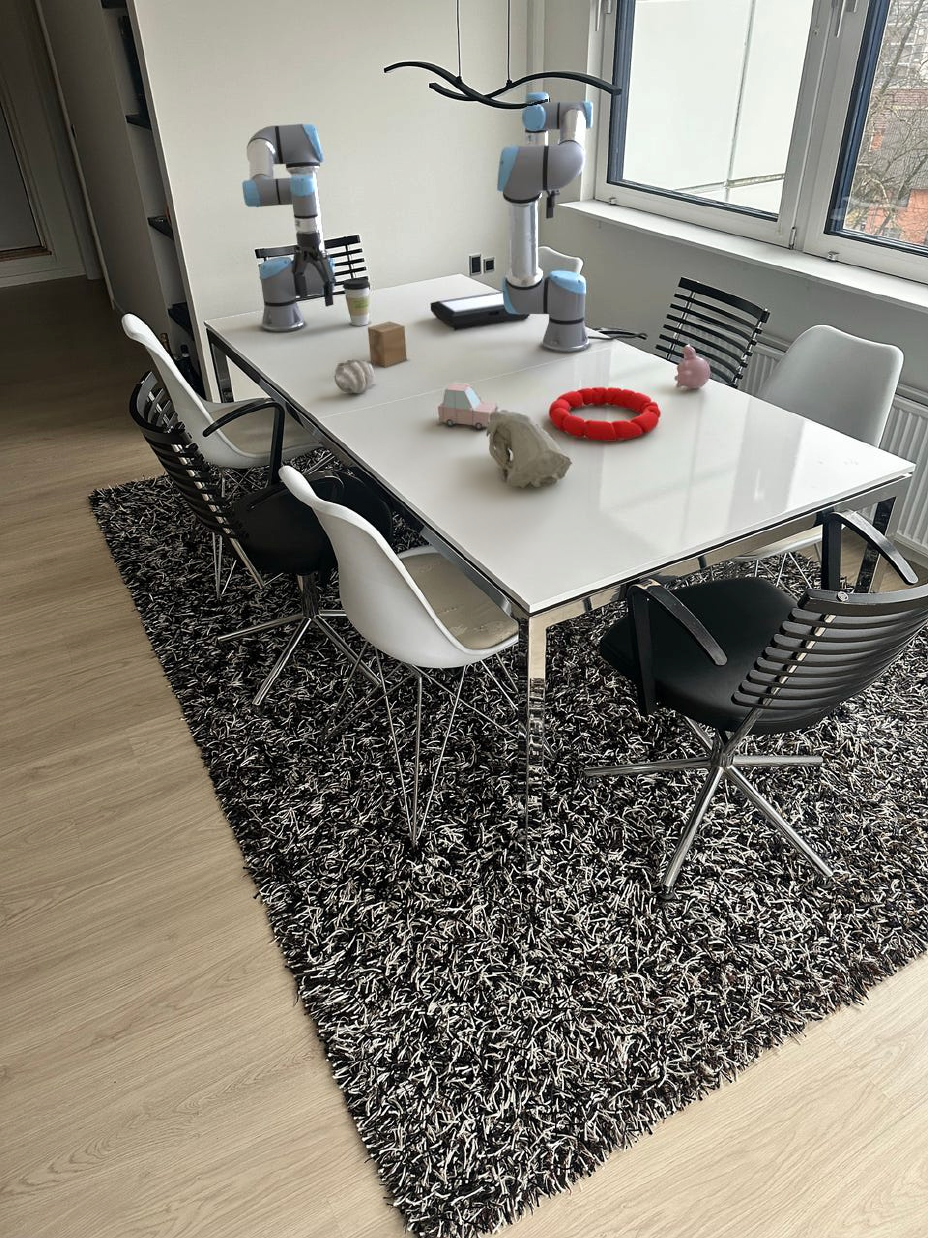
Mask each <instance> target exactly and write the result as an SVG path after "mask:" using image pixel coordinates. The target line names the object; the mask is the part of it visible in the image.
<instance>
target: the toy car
mask: <svg viewBox="0 0 928 1238" xmlns="http://www.w3.org/2000/svg"><path fill="white" fill-rule="evenodd" d="M498 409H499V404H498V403H497V402H490V401H489V402H487V401H483V397H481V396H480V395H479V394H478V393H477V391H476V390H475V389H474V386H472V384H469V383H459V382H451V383H450V384H449V385H448V386H447V387H446V388H445V389H444V394H443V399H442V403H440V404H439V405H438V406H437V413H438V421H439V422H443V423H446V425H447V426H448V427H452V426H454V425H455V424H461V425H469V426H473V427H475V429H476V430H479V431H480V430H481V429H483V428H485V427H486V428H487V423H488V422H490V414H491V413H492V412H496V411H499V410H498Z"/></svg>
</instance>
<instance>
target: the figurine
mask: <svg viewBox="0 0 928 1238" xmlns="http://www.w3.org/2000/svg"><path fill="white" fill-rule="evenodd" d="M682 354H683V358H684V359H683V361H682V362H679V363H678V364H677V365H676V372H677V375H675V376H674V381H675V382H676V381H677V382H676V384H675V386H676V388H681V387H686V388H688V389H693V390H694V389H695V390H696V389H700V388H703V387H704V386H705V385H706V384H707V383H708V382H709V379H710V377H711V367H710V364H709V362H708V361H706V359H704V358H702V357H700V356H697V353H696V350H695V349H694V347H692V345H690V344H686V345H685V346H684V347H683V348H682Z"/></svg>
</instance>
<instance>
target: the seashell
mask: <svg viewBox="0 0 928 1238" xmlns="http://www.w3.org/2000/svg"><path fill="white" fill-rule="evenodd" d="M333 377H334V382H335V384H336V386H337V387H338V388H339V390H340V391H342V393H345V394H353V393H354V394H362V393H365V392H366V391H367V390H368V389H370V387H371V385H372V383H373V382H374V379H375V370H374V368H373V366H372V364H371V362H368V363H367V361H365V360H364V359H363V360H360V359H348V360H347V361H346V362H339V363H338V364H337V367H336V368H335V372H334V376H333Z"/></svg>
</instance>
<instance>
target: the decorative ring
mask: <svg viewBox="0 0 928 1238" xmlns="http://www.w3.org/2000/svg"><path fill="white" fill-rule="evenodd" d="M583 405H584V406H586V407H587V406H591V405H593V406H604V405H608V406H614V407H619V408H624V409H628V410H632V411H635V412H636V413H638V414H639V415H637V416H635V417H632V418H631V419H630V420H625V419H624V420H623V419H622V420H614V421H611V422H609V421H607V420H606V421H605V420H593V419H587V420H586V421H585V419H584V418H582V417H579V416H577V415H573V414H571V413H570V410H571V409H579V408H581V407H582V406H583ZM548 416H549V419H550V422H551V423H552V425H553V426H554V427H555V428H556V429H558V430H559V431H561V432H563V433H567V434H568V435H569V436H573V437H576V438H580V439H582V438H583V437H585V438H586V439H587V440H591V441H601V442H602V441H603V442H608V441H609V442H610V441H611V442H612V441H615V442H616V441H618V440H630V439H634V438H638V437H641V436H642V434H647V433H650V432H651V431H653V430H654V429H655V428H656V427H657V426H658V424H659V422H660V421H659V420H660V417H661V410H660V408H659V405H658V403H657V402H656V401H652V399H651V397H649V396H648V395H646V394H644V393H642V392H635V391H634V390H632V389H628V388H624V389H622V388H620V387H613V386H612V387H611V386H610V387H608V388H606V387H604V386H594V387H585V388H584V387H583V388H580V389H578V390H571V391H568V392H565V393H563V394H561V395H560V396H558V397H557V398H556V400H554V401H552V403H551V404H550V407H549V409H548Z"/></svg>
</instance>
